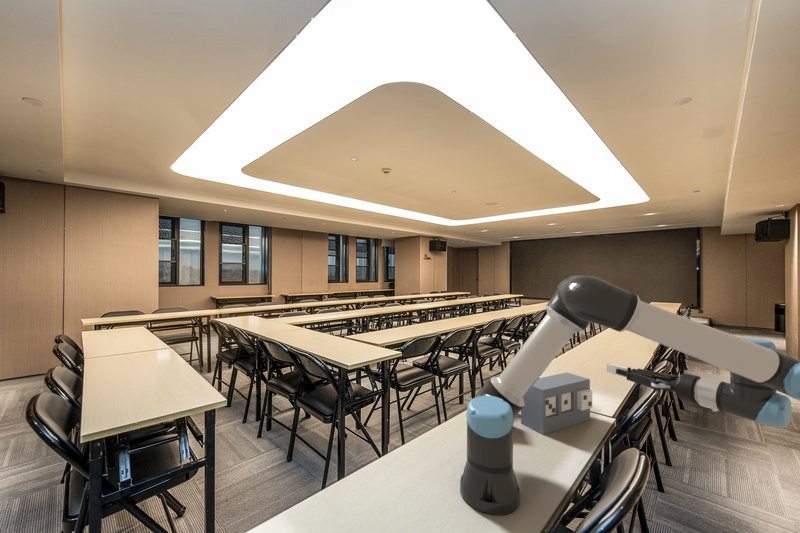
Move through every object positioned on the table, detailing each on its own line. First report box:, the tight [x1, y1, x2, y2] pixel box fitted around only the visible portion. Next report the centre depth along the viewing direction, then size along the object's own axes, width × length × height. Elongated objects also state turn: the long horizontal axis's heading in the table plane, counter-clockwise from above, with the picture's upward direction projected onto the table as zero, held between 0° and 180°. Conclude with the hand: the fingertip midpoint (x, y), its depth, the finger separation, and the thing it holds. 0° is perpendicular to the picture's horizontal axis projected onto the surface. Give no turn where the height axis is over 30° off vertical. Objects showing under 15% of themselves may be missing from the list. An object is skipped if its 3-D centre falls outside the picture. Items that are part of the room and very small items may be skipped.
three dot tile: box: [546, 396, 556, 416], centre depth 121 cm, size 7×3×7 cm, turn 118°
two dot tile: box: [577, 389, 593, 411], centre depth 127 cm, size 7×3×7 cm, turn 118°
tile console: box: [520, 372, 591, 436], centre depth 128 cm, size 28×10×16 cm, turn 118°
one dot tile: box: [562, 392, 571, 412], centre depth 125 cm, size 7×3×7 cm, turn 118°
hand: (608, 367), depth 107 cm, fingers closed
